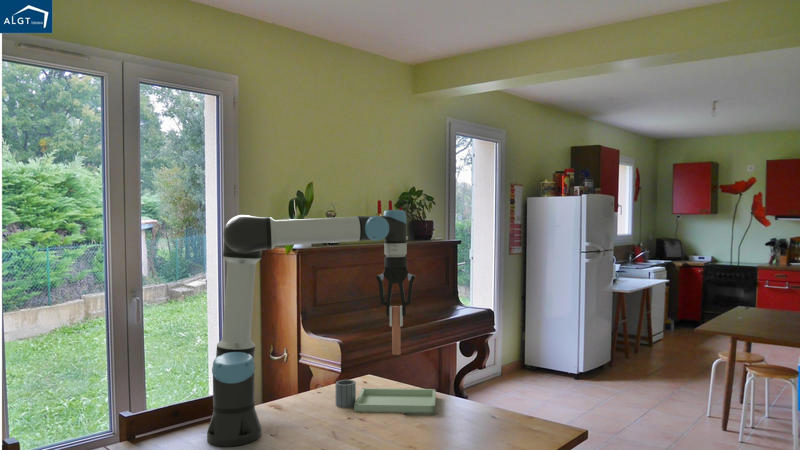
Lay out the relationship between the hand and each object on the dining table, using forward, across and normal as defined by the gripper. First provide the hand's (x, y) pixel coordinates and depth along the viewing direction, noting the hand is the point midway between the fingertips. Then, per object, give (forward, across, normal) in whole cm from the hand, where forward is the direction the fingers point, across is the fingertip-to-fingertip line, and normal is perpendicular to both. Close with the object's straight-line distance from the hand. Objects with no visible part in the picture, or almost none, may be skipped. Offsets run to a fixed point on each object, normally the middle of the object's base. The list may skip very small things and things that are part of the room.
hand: (396, 325), depth 193 cm
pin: (+10, +1, 0) cm, 10 cm away
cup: (+27, -17, -2) cm, 32 cm away
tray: (+27, 0, 0) cm, 27 cm away
